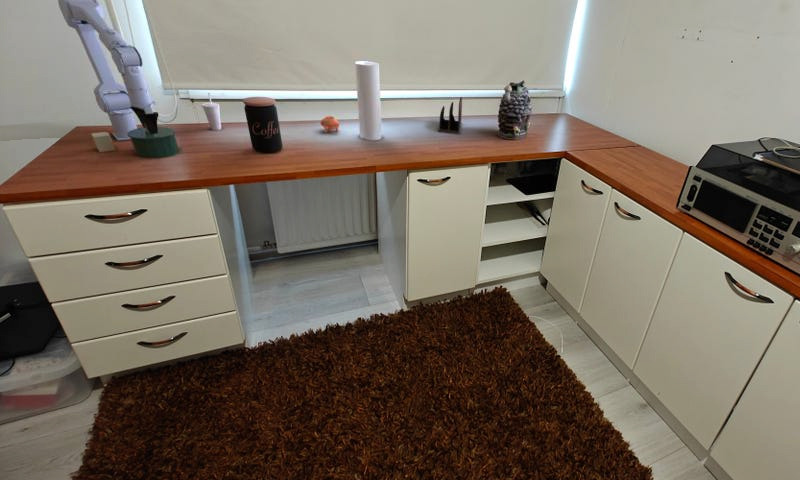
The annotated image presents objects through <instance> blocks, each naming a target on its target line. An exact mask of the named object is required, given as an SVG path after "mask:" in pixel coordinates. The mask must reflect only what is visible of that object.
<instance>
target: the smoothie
mask: <svg viewBox="0 0 800 480" xmlns="http://www.w3.org/2000/svg"><path fill="white" fill-rule="evenodd" d="M207 95H208V99H209V102H203V103H202V104H201V108H202V109H203V111H204V114H205V116H206V119H207V122H208V124H209V127H210V129H211V131H220V130H222V122H221V114H220V113H221V112H220V106H221V105H220V104H219V103H217V102H213V101H212V97H211V94H210V92H208V93H207Z"/></svg>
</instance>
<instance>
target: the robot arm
mask: <svg viewBox="0 0 800 480" xmlns="http://www.w3.org/2000/svg"><path fill="white" fill-rule="evenodd" d="M57 3H58V7H59V9H60V13H61V14H62V17H63V19H64V21H65V23H66V24H67V27H70V28H72V29H74V30H75V31H76V33H77V35H78V37H79V39H80V41H81V44H82V46H83V48H84V50H85V53H86V55H87V57H88V60H89V62H90V64H91V67H92V69H93V72H94V74H95V75H96V78H97V80H98V82H99V83H98V84H97V85H96V87H94V89H93V94H94V97H95V101H96V103H97V106H98V107H99V109H100V110H101V111H102V112H103V113H105V114H107V115H108V118H109V121H110V123H111V127H112V129H113V132H111V134H112V135H113V137H114V138H115V139H116V141H125V140H131V139H130V137H129V136H128V135H127V133H128V132H129V131H131V130H134V129H138V128H139V127H138V125H137V123H136V120H135V116H134V114H135V115H136V116H137V119H138V121H139V122H140V123H141V125H142V128H146V127H147V129H148V131H149V133H150V134H158V128H157V127H158V120H159V119H158V118H159V112H158V111H153V106H155V105H157V101H155V100H152V99H151V96H150V92H149V89H148V86H147V83H146V80H145V76H144V73H143V70H142V67H143V65H144V64H143V58H142V55H141V54H140V52H139V51H138V49H137V48H136V46H133V45H131V44H128V43H127V42H126V40H125V39H124V37H122V36H121V34H120V33H119V32H118V31H117V30H116V29H113V28H111V27H110V26H109V24H108V23H107V21H106V20H105V13H104V9H103V7H102V5H101V3H100V2H99V1H98V0H57ZM97 33H98V35H97ZM101 43H102V44H103V46H104V47H105V48H106V50H107V51H108V52H109V53H110V56H111V58H112V61H113V63H114V65H115V66H116V68H117V71H118V74H120V75H121V78H122V81H123V84H124V85H123V84H121V83H119V82H117V80H116V78H115V75H114V73H113V69H112V68H111V66H110V64H109V62H108V61H109V60H108V59H107V57H106V54H105V52H104V49H103V47H102V45H101ZM133 113H134V114H133ZM144 123H145V124H144ZM145 125H146V127H145Z"/></svg>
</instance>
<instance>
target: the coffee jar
mask: <svg viewBox="0 0 800 480" xmlns="http://www.w3.org/2000/svg"><path fill="white" fill-rule="evenodd" d="M242 103H243V105H244V106H243V107H244V108H243V109H244V114H245V119H246V123H247V124H246V125H247V128H248V132H249V133H248V134H249V138H250V143H251V148H252V149H253V150H254V151H255V153H256V152H257V153H260V154H276V153H278V152H281V151H282V149H283V147H284V146H283V141H282V140H283V139H282V134H281V127H280V120H279V115H278V110H277V106H276V99H275V98H272V97H267V96H251V97H249V96H248V97H245V98H243V99H242Z"/></svg>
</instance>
